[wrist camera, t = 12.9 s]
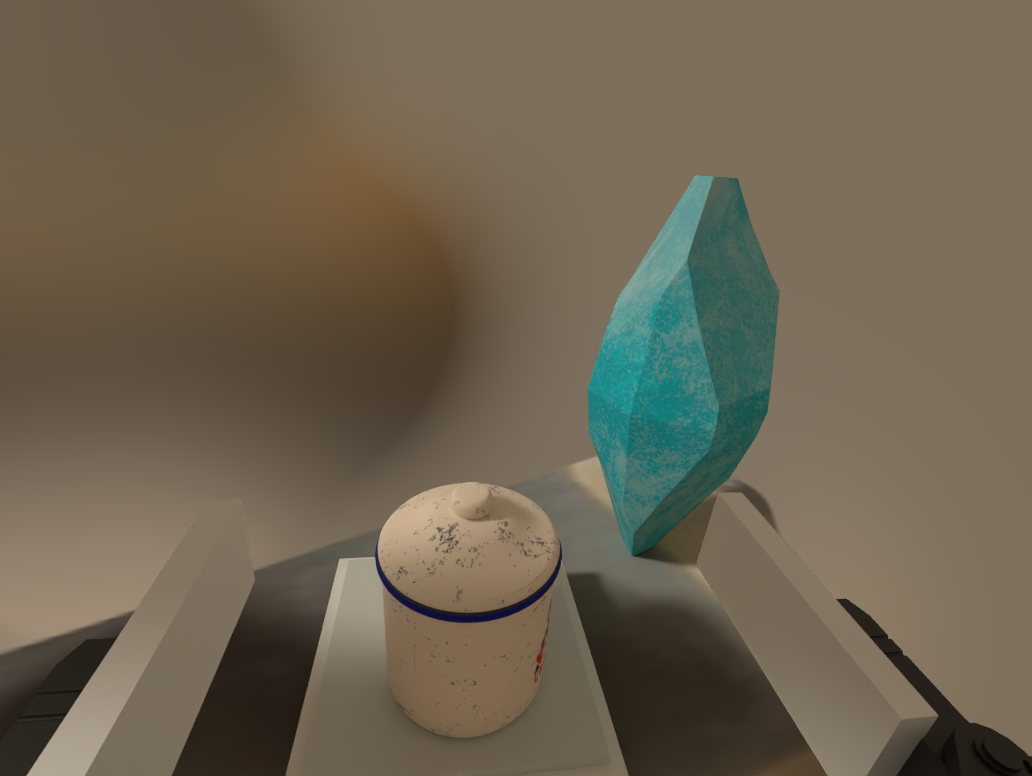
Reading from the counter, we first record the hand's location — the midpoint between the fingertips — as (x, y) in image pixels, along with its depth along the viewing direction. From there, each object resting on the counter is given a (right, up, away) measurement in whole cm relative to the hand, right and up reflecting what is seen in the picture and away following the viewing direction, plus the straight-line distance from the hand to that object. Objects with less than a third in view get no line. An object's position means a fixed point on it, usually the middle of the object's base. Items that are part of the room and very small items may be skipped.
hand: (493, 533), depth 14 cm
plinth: (-3, -14, +17) cm, 23 cm away
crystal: (+12, -10, +31) cm, 34 cm away
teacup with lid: (-3, -11, +16) cm, 19 cm away
